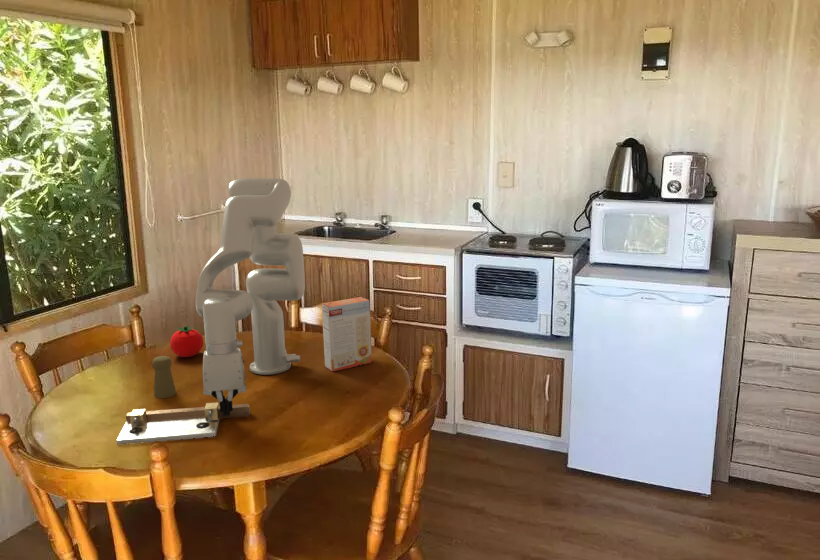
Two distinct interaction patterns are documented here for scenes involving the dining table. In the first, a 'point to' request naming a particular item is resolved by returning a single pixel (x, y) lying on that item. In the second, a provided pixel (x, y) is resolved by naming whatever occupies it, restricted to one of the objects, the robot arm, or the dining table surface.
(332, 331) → the cracker box
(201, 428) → the hole plate
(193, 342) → the tomato
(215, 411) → the block
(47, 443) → the dining table surface
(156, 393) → the salt shaker
